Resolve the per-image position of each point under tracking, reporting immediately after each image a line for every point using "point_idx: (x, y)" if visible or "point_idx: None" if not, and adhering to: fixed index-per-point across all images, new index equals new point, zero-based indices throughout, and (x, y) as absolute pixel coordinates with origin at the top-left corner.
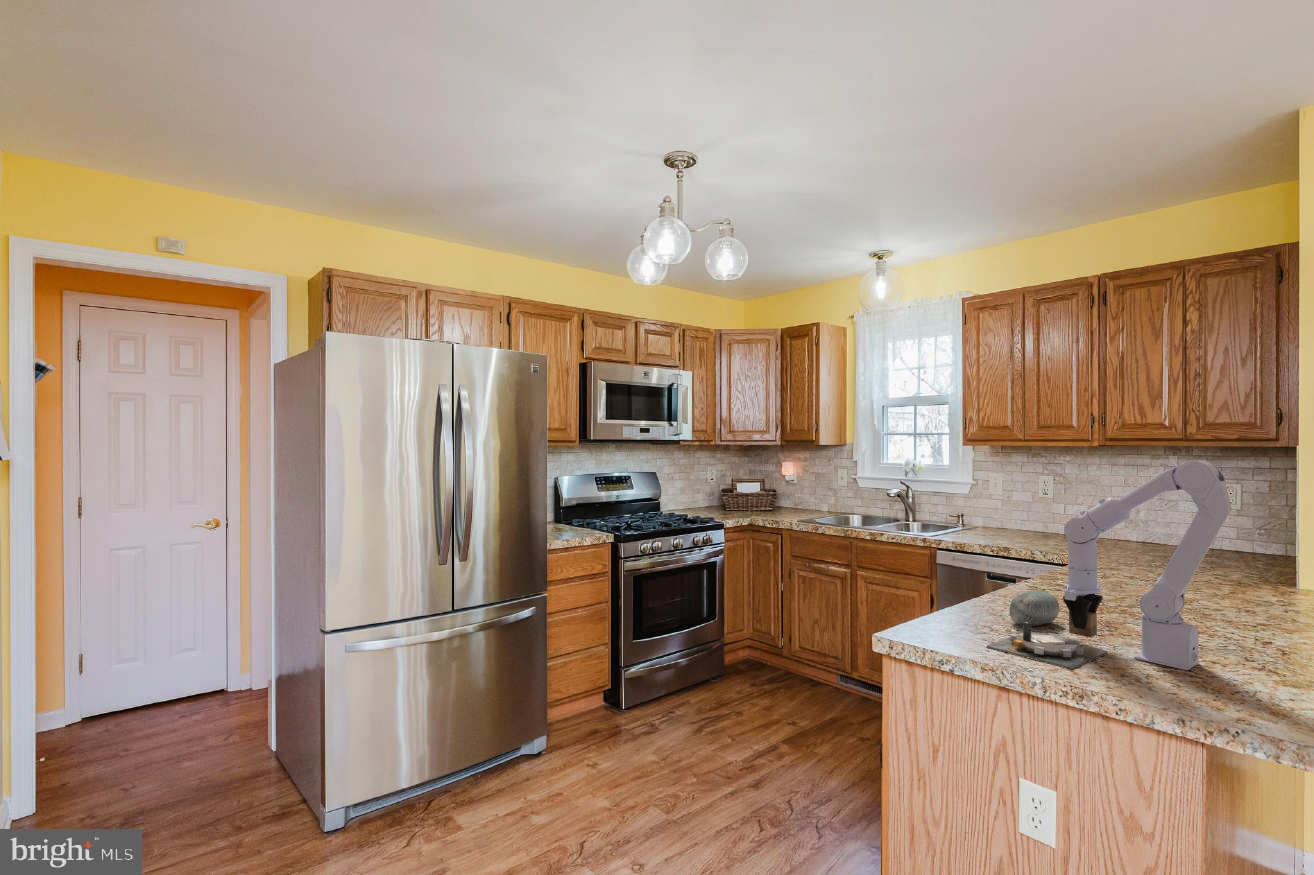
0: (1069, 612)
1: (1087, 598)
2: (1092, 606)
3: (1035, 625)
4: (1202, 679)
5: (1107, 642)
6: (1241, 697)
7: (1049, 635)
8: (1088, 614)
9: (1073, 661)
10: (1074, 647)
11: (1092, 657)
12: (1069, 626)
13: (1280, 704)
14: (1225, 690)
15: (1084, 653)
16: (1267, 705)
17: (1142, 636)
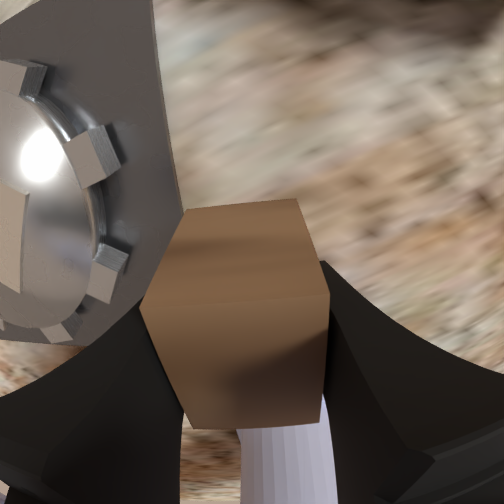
0: (141, 309)
1: (356, 501)
2: (335, 451)
3: None
4: (217, 464)
5: (392, 270)
6: (181, 483)
7: (21, 197)
8: (215, 418)
9: (10, 324)
10: (29, 326)
11: (87, 343)
12: (178, 231)
13: (203, 495)
14: (191, 477)
15: (95, 314)
16: (182, 491)
17: (262, 465)
